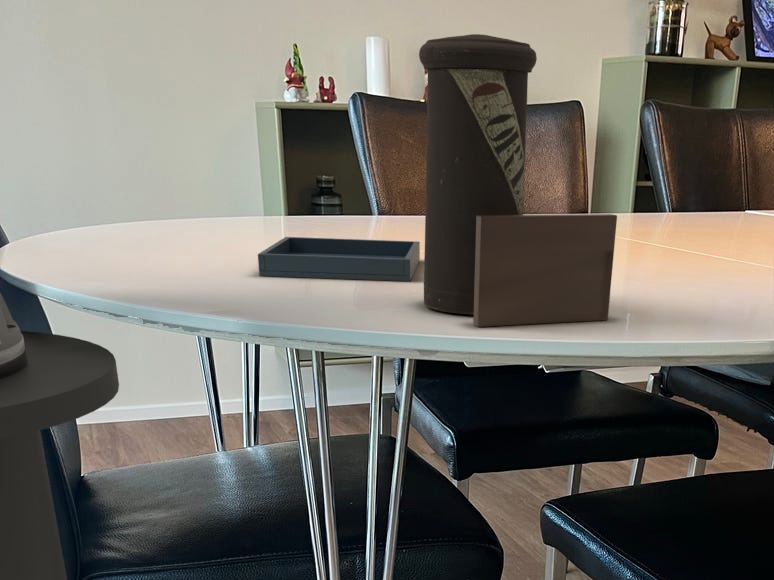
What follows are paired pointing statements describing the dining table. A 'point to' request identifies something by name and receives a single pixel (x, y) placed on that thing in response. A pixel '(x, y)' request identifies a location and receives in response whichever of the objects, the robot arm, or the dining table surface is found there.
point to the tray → (340, 259)
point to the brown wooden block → (543, 268)
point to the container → (470, 154)
